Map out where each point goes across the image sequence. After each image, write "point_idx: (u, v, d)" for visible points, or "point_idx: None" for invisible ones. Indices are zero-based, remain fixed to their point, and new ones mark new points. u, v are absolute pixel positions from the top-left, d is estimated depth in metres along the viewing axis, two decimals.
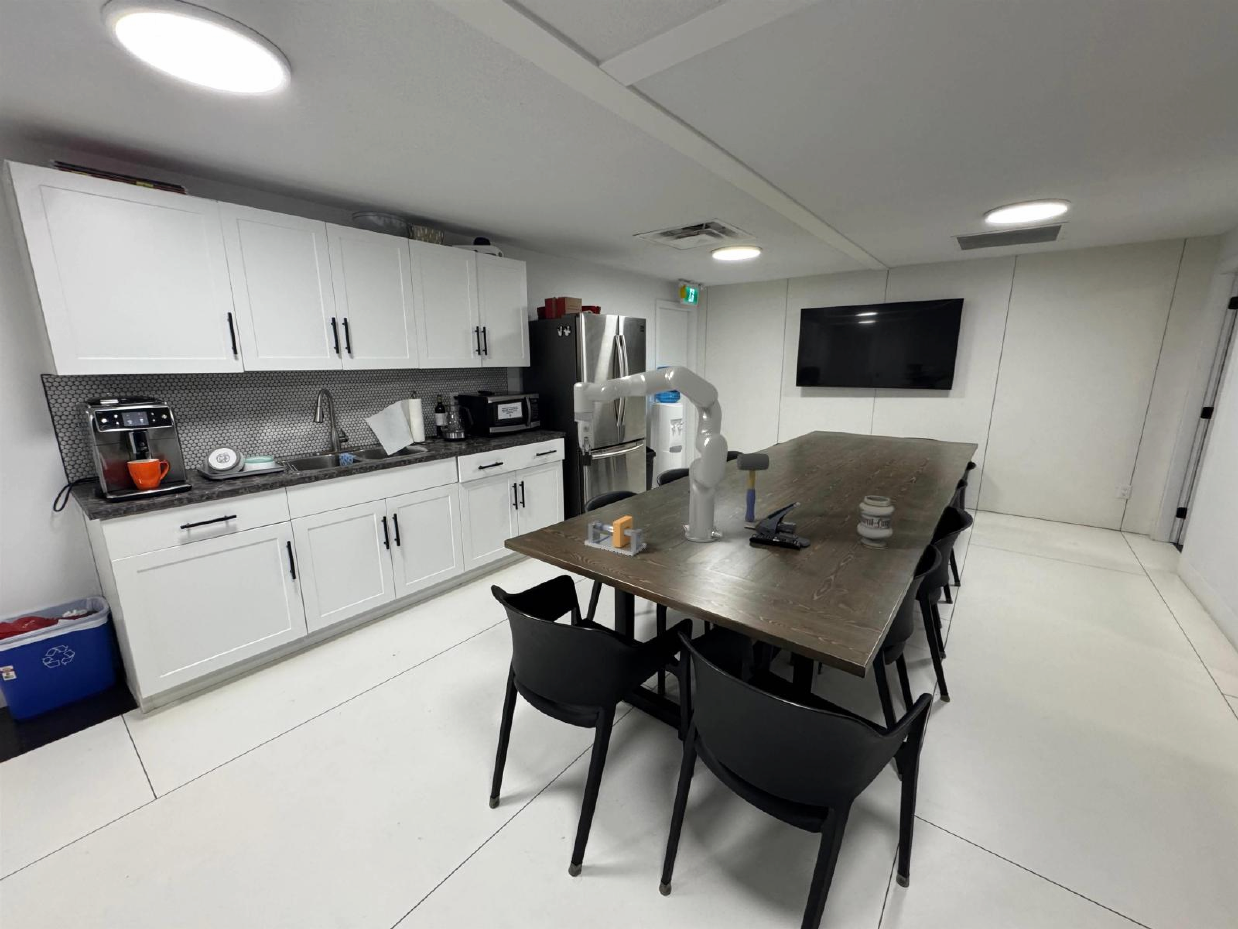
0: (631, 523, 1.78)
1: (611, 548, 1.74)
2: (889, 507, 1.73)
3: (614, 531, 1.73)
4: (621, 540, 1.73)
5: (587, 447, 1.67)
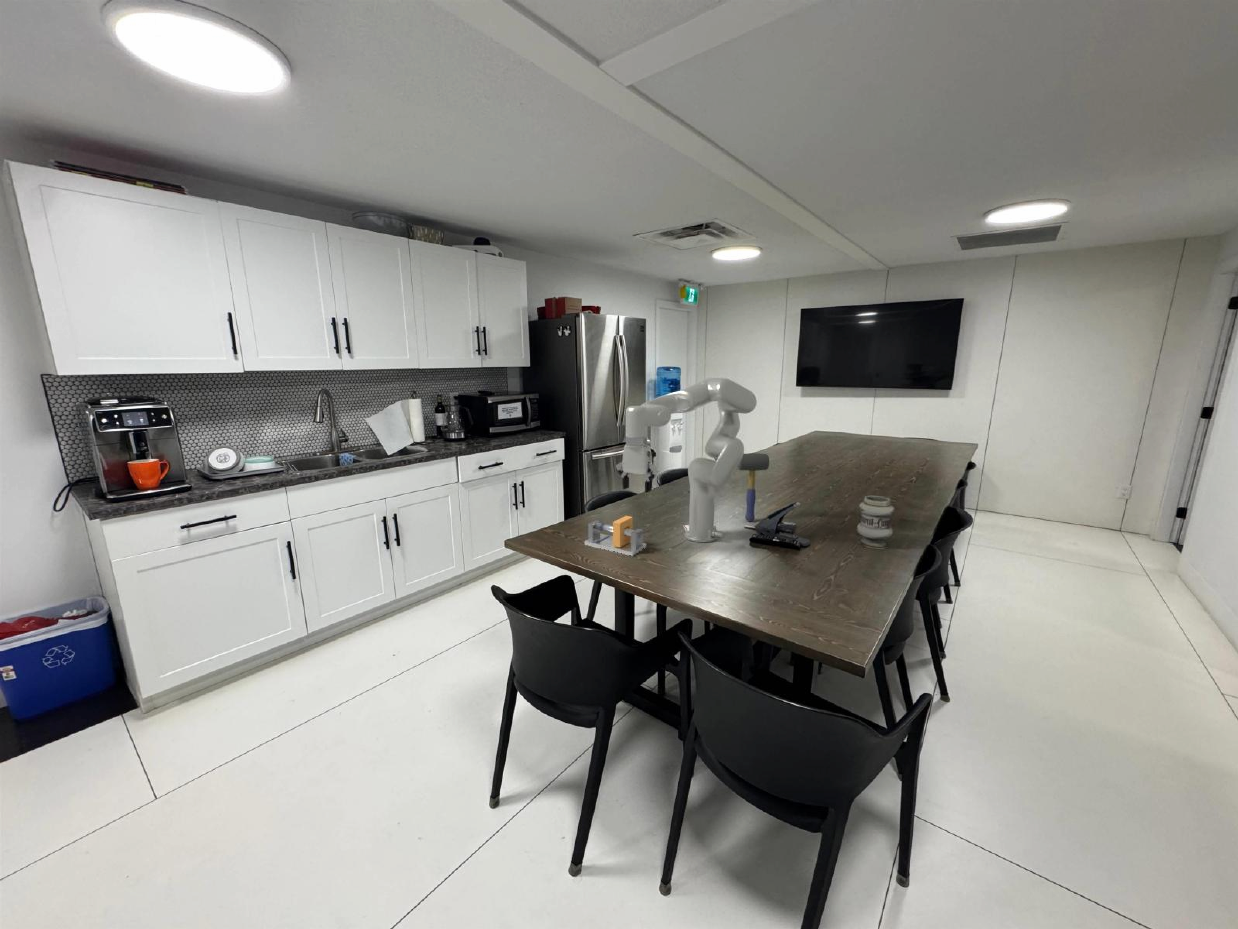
0: (631, 523, 1.78)
1: (611, 548, 1.74)
2: (889, 507, 1.73)
3: (614, 531, 1.73)
4: (621, 540, 1.73)
5: (657, 472, 1.64)
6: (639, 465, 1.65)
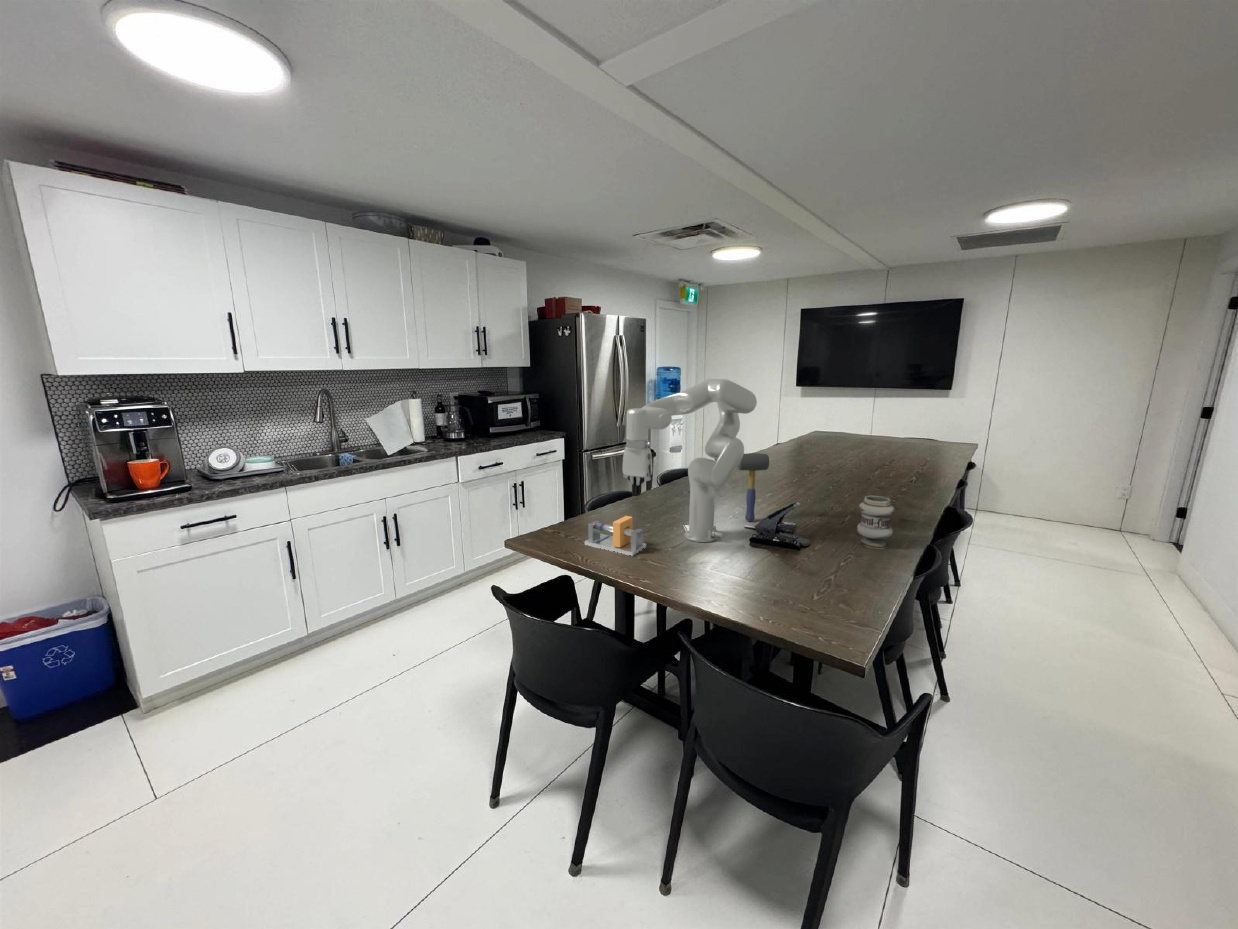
0: (631, 523, 1.78)
1: (611, 548, 1.74)
2: (889, 507, 1.73)
3: (614, 531, 1.73)
4: (621, 540, 1.73)
5: (647, 480, 1.67)
6: (639, 468, 1.65)
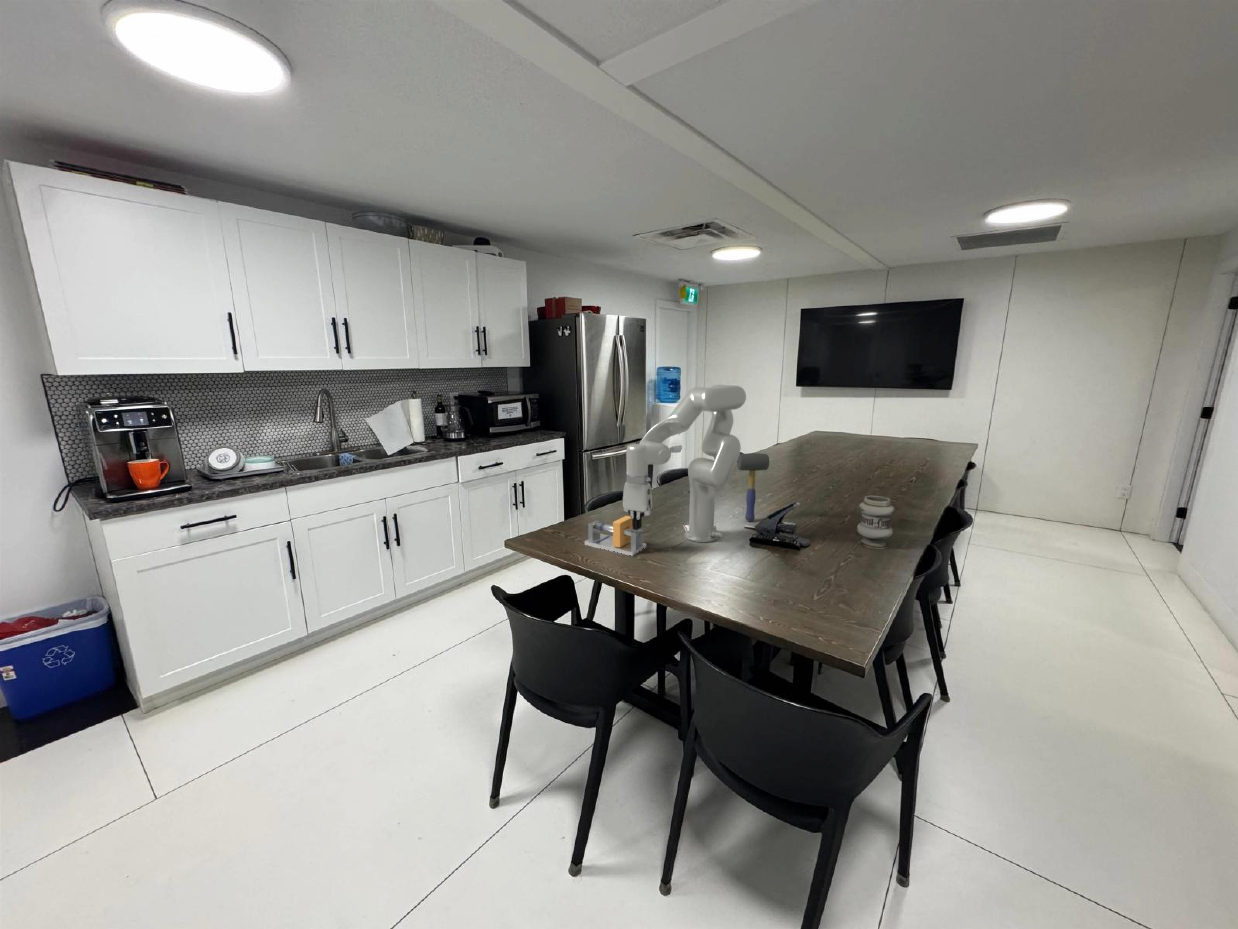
0: (631, 523, 1.78)
1: (611, 548, 1.74)
2: (889, 507, 1.73)
3: (614, 531, 1.73)
4: (621, 540, 1.73)
5: None
6: (639, 503, 1.68)
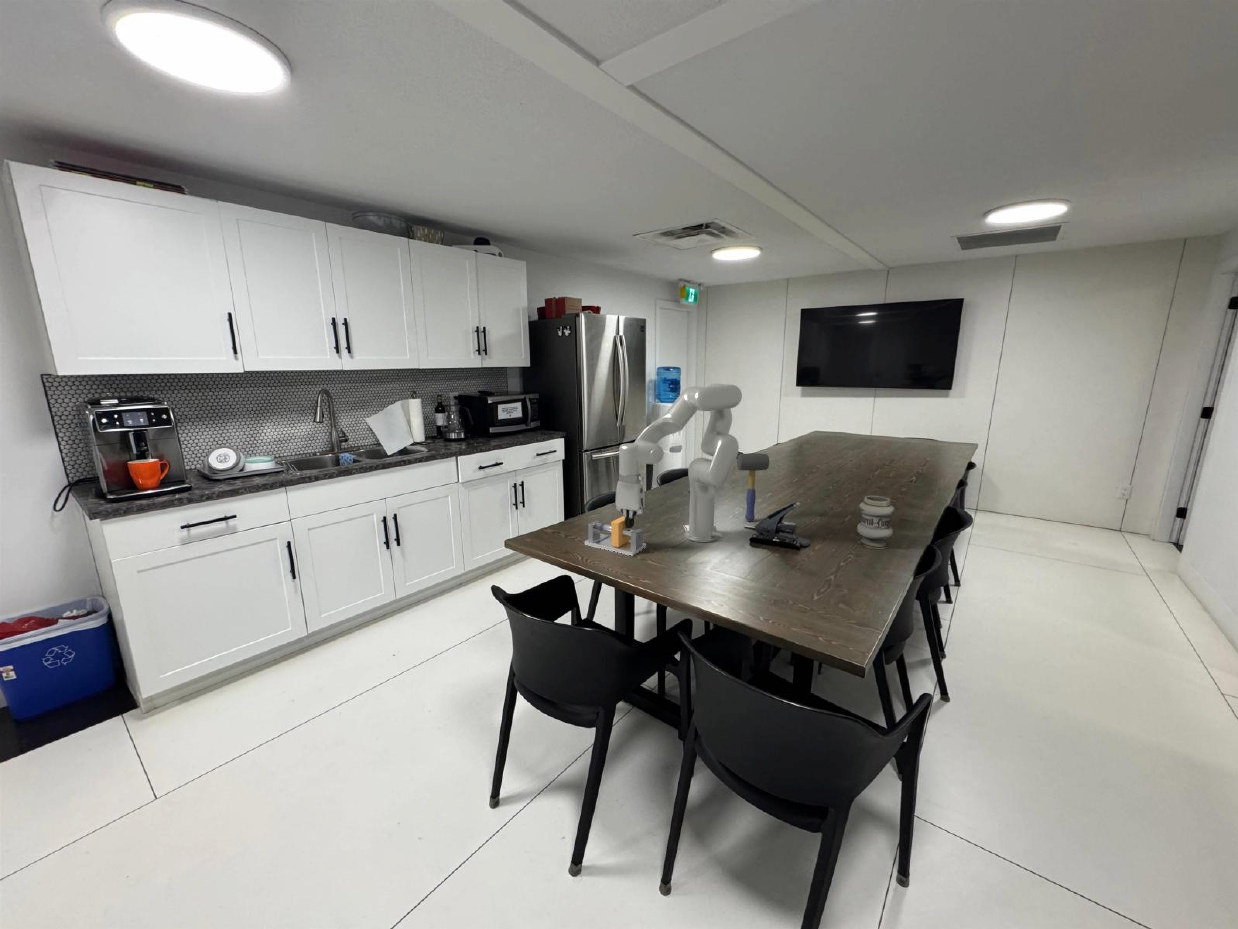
0: None
1: (611, 548, 1.74)
2: (889, 507, 1.73)
3: (612, 531, 1.73)
4: (619, 540, 1.73)
5: None
6: (632, 501, 1.69)
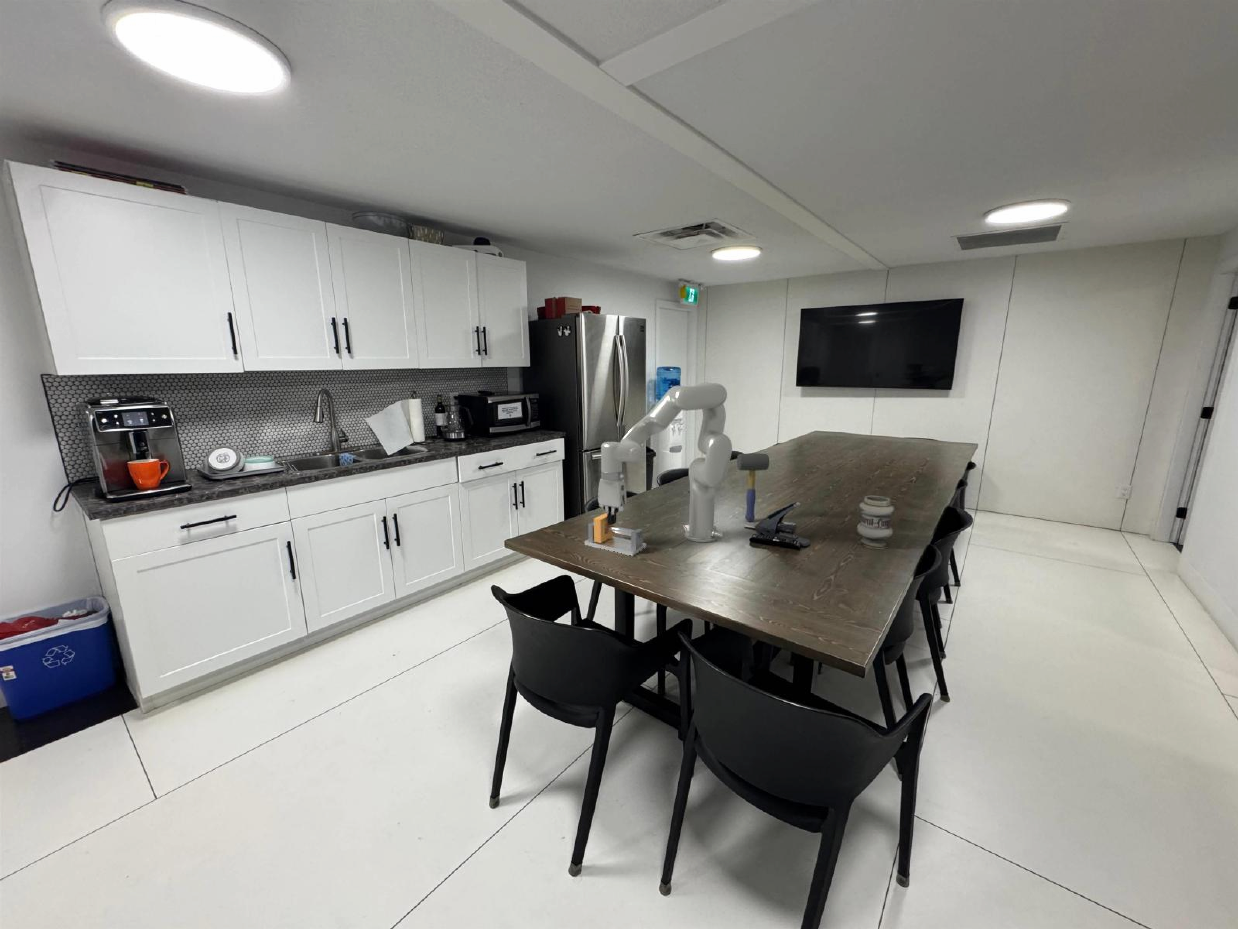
0: None
1: (611, 548, 1.74)
2: (889, 507, 1.73)
3: (595, 527, 1.77)
4: (601, 536, 1.77)
5: None
6: (613, 498, 1.73)
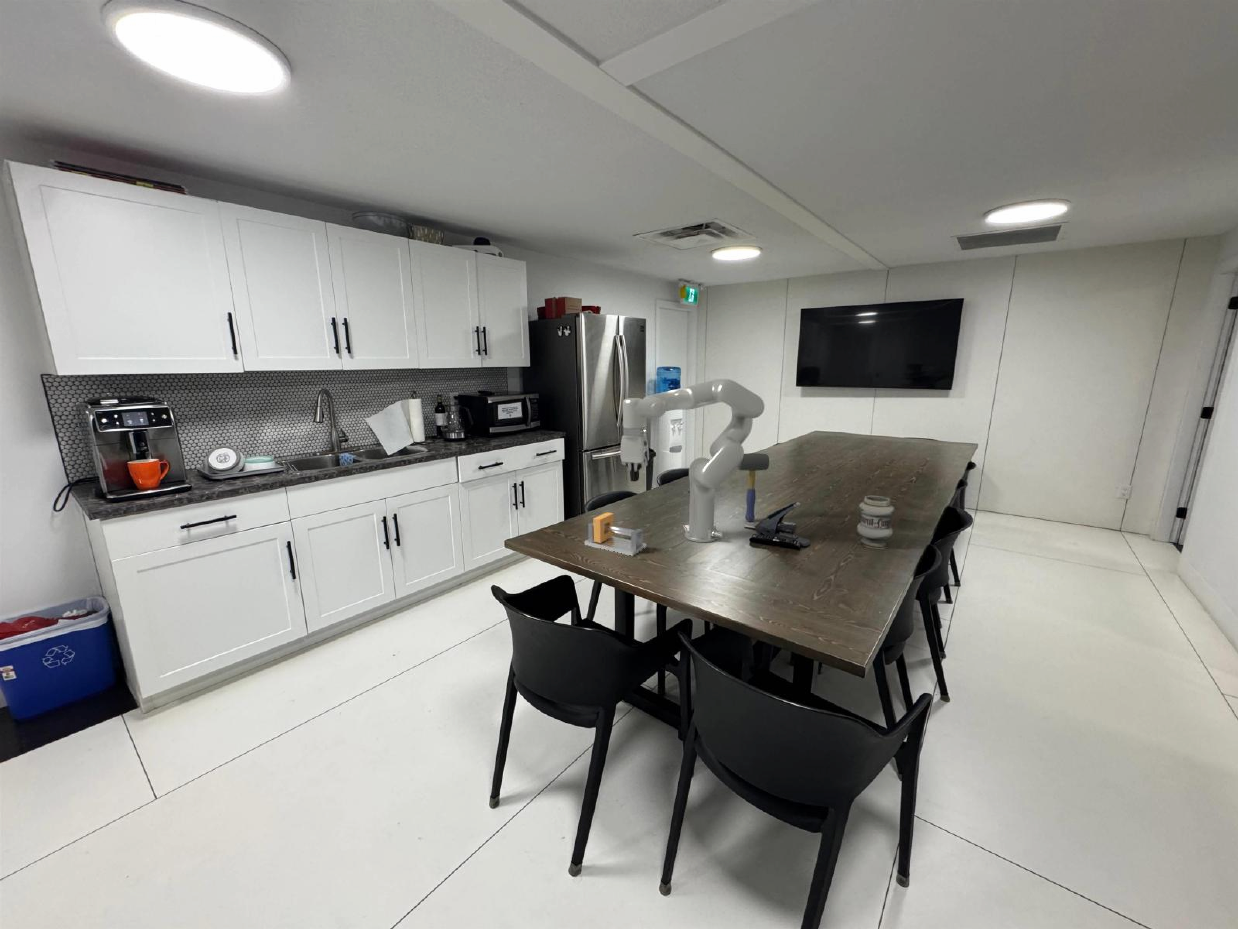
0: (612, 519, 1.83)
1: (611, 548, 1.74)
2: (889, 507, 1.73)
3: (595, 527, 1.77)
4: (601, 536, 1.77)
5: (644, 466, 1.76)
6: (636, 454, 1.74)
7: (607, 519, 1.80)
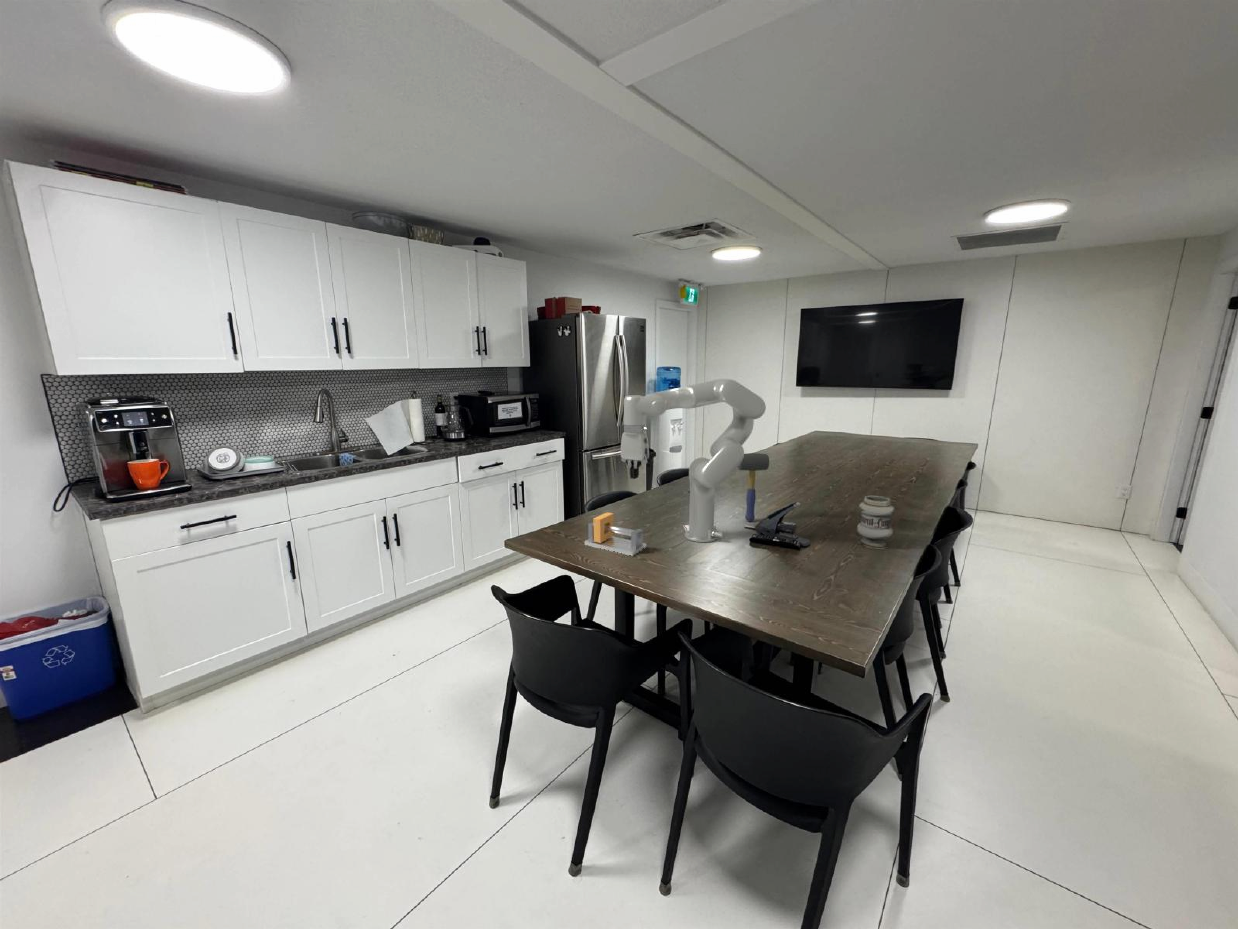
0: (612, 519, 1.83)
1: (611, 548, 1.74)
2: (889, 507, 1.73)
3: (595, 527, 1.77)
4: (601, 536, 1.77)
5: (644, 463, 1.76)
6: (636, 451, 1.74)
7: (607, 519, 1.80)
